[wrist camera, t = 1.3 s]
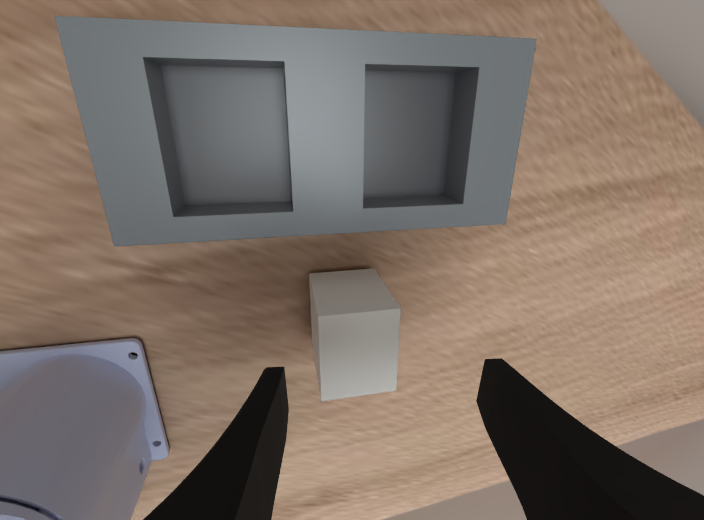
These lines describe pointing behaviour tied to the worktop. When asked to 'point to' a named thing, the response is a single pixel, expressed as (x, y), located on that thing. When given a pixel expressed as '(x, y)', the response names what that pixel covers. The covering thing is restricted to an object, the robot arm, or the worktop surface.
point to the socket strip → (294, 127)
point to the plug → (354, 333)
